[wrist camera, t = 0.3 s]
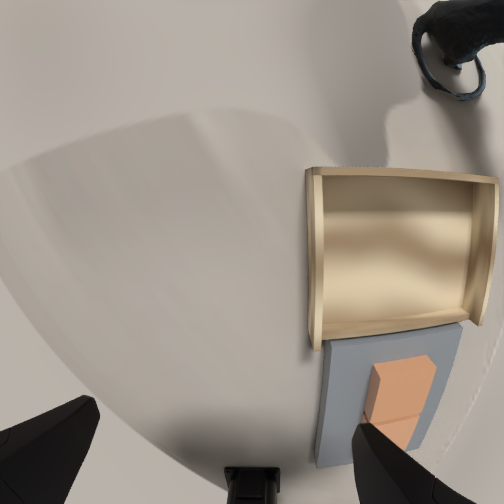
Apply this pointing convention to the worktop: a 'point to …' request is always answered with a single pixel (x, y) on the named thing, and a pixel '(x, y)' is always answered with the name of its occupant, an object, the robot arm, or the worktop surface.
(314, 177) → the tray
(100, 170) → the worktop surface
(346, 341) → the slate board
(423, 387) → the tile near
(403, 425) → the tile far
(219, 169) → the worktop surface
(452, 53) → the sculpture
